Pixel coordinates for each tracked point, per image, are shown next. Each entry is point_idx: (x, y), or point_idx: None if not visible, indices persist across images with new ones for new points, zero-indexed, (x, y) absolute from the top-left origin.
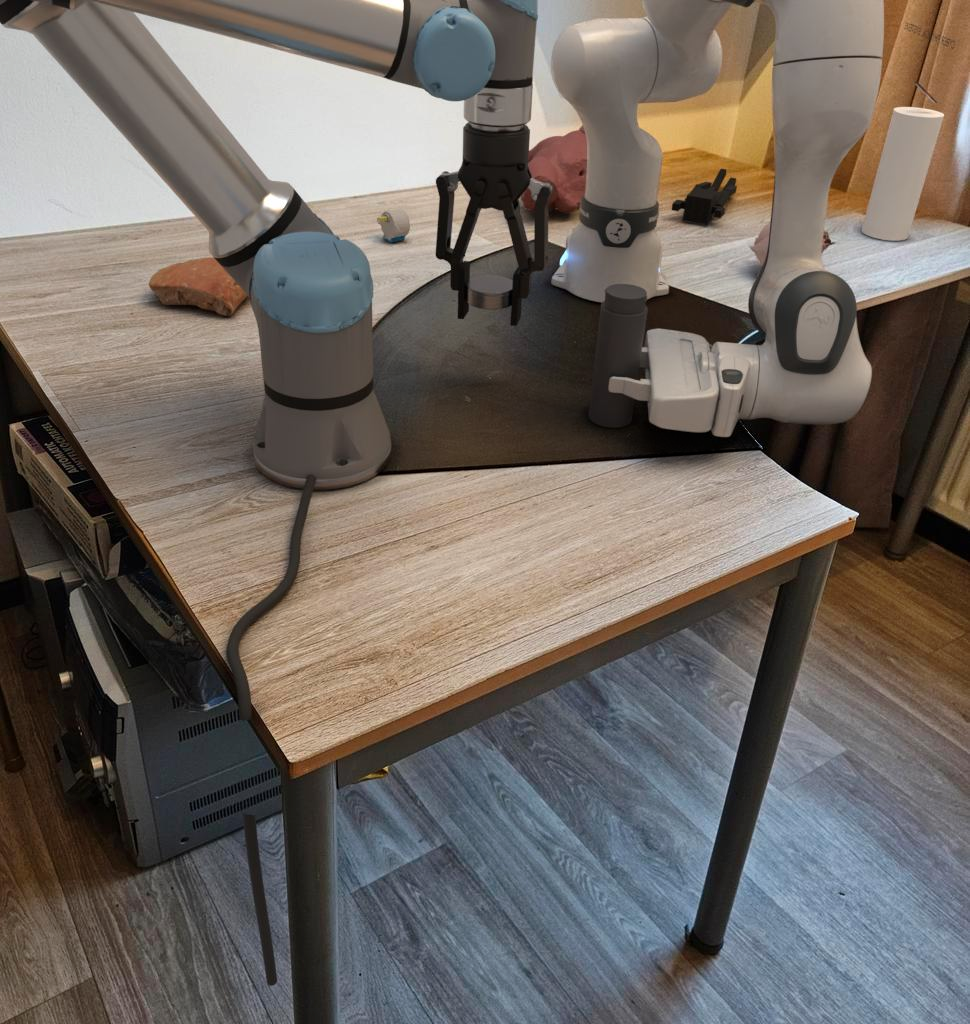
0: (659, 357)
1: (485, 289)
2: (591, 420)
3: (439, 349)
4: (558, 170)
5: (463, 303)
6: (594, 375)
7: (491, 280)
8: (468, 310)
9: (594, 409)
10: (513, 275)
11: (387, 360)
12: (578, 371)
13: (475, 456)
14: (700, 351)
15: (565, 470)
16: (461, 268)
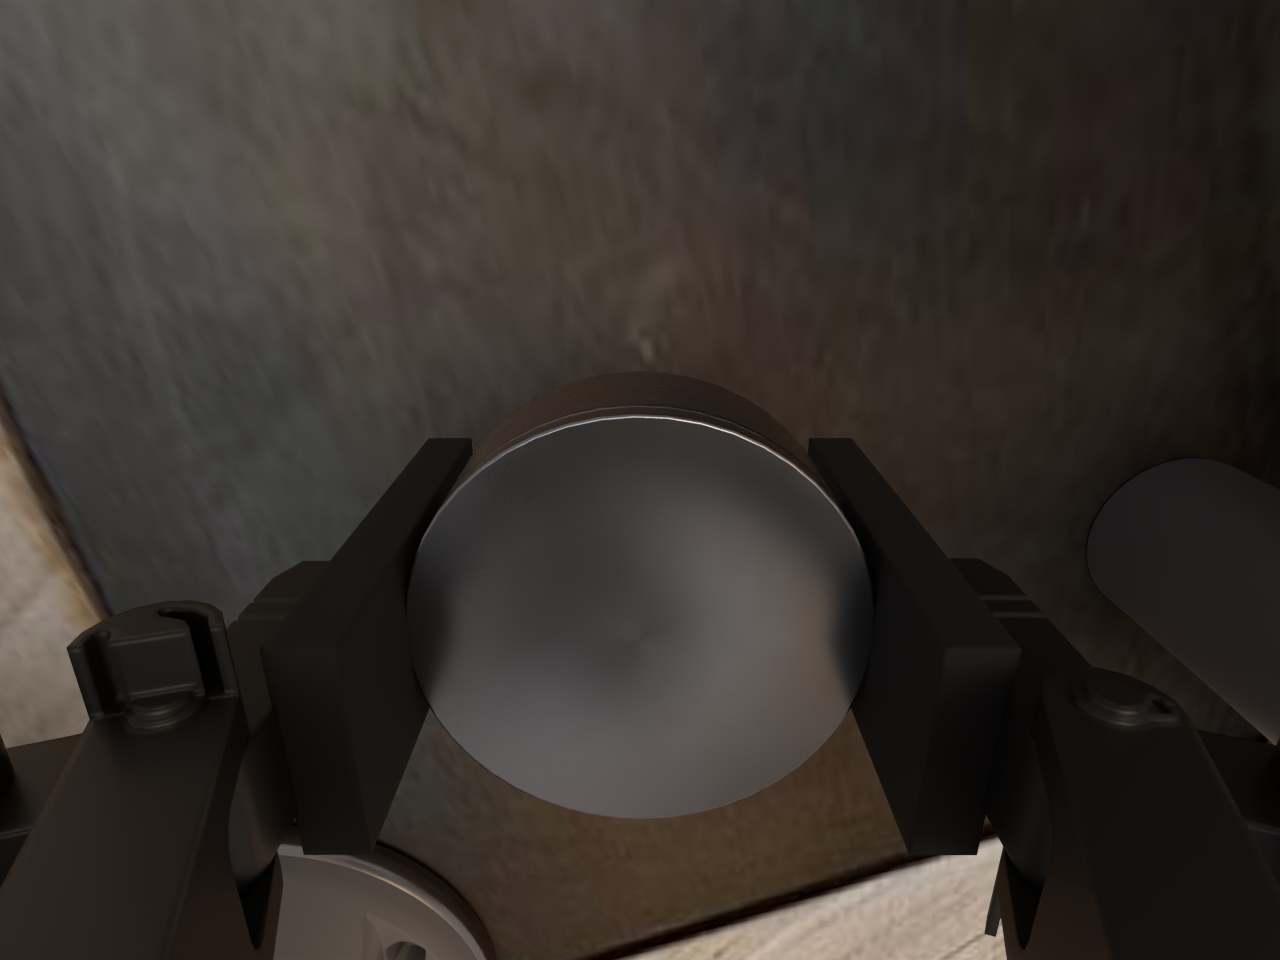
0: None
1: (625, 759)
2: (1096, 584)
3: (306, 99)
4: None
5: None
6: (1218, 681)
7: (625, 560)
8: (469, 447)
9: (1133, 619)
10: (910, 842)
11: (134, 322)
12: (1065, 129)
13: (721, 871)
14: None
15: (993, 867)
16: (336, 854)
